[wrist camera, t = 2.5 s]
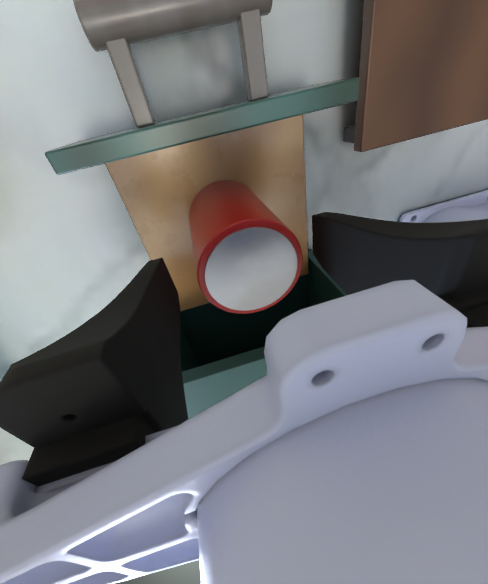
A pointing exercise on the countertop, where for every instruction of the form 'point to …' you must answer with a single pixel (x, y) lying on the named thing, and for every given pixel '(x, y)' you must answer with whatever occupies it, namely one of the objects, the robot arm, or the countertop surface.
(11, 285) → the countertop surface
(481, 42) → the brown square board
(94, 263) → the countertop surface
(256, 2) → the handled drawer
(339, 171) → the countertop surface
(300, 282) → the teal open box
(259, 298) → the can
